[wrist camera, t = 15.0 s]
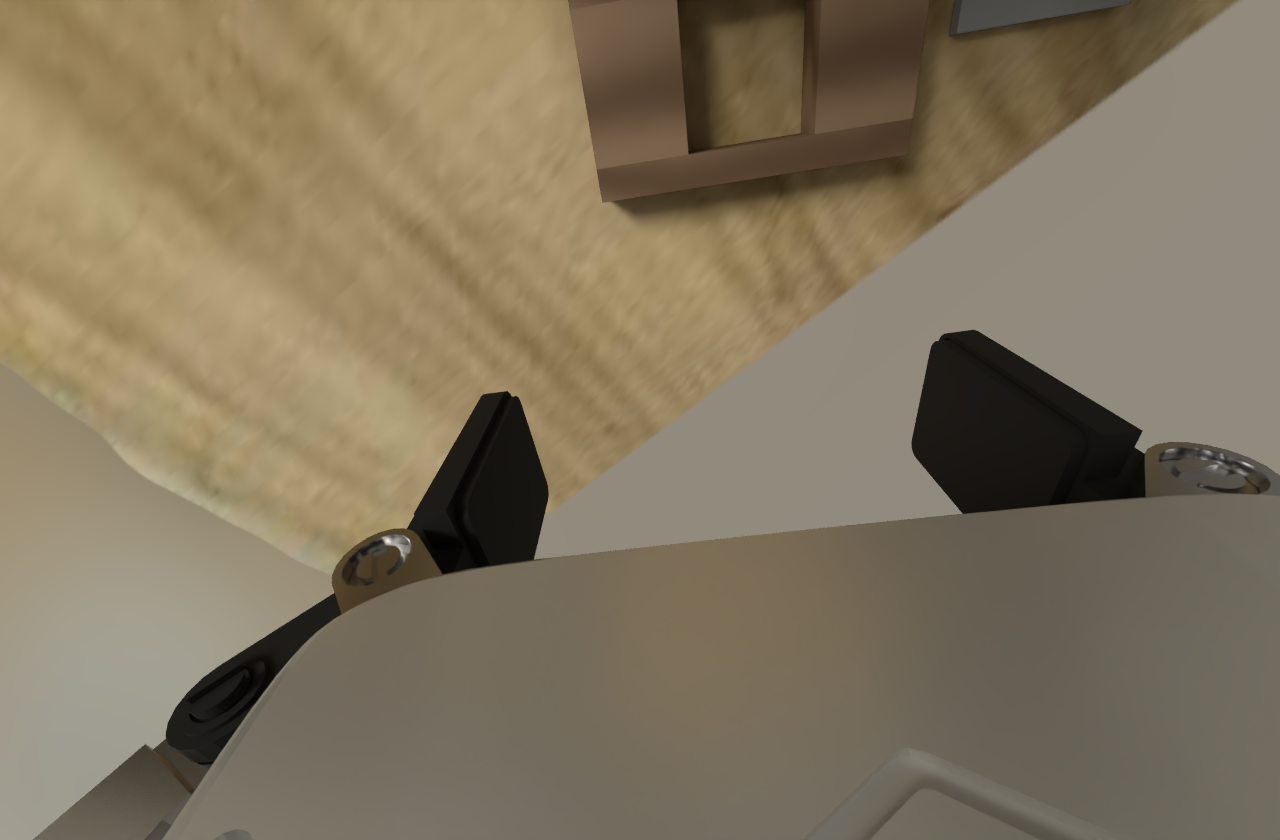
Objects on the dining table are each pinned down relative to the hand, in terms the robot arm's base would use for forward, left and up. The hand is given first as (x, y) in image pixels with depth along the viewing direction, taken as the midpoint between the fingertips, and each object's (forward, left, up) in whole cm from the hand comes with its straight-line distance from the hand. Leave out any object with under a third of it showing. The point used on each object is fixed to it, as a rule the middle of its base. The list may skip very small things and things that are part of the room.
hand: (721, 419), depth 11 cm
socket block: (-8, +6, -28) cm, 30 cm away
